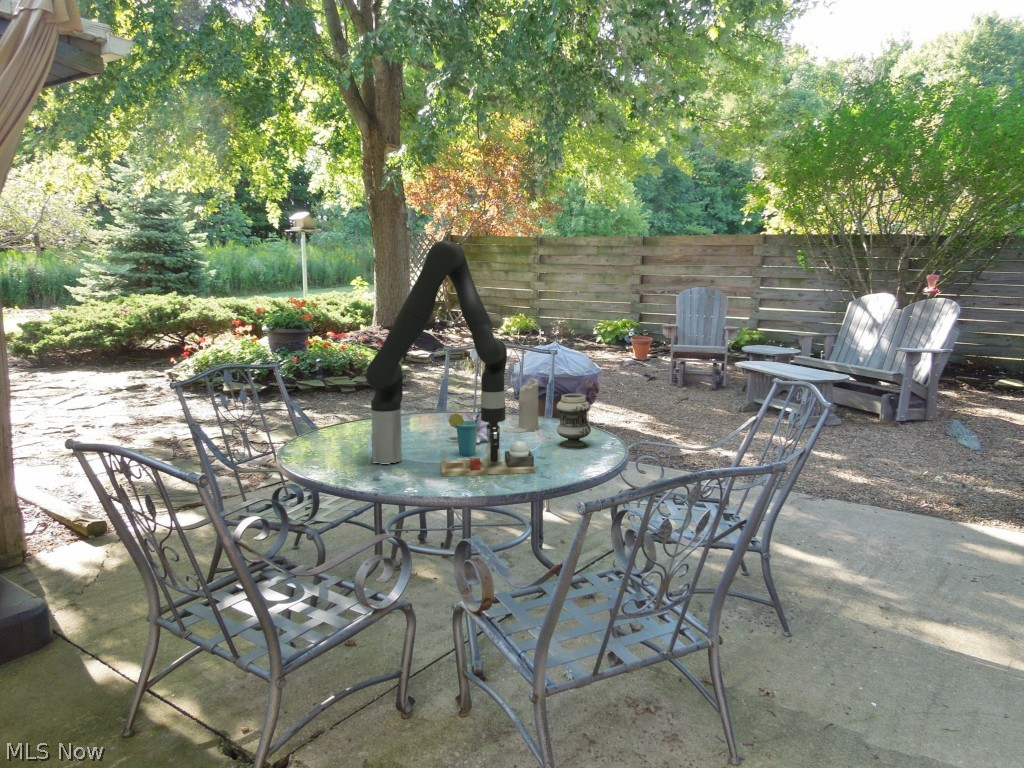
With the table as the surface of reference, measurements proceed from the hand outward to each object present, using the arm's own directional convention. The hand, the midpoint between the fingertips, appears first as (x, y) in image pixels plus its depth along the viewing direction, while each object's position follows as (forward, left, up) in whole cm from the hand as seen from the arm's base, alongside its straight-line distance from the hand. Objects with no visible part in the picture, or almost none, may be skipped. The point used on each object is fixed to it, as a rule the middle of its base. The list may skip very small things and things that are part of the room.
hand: (493, 459), depth 205 cm
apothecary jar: (+31, +26, -3) cm, 40 cm away
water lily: (-3, +35, -3) cm, 35 cm away
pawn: (0, 0, 0) cm, 0 cm away
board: (-2, 0, -3) cm, 4 cm away
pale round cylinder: (+8, 0, 0) cm, 8 cm away
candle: (+16, +52, -3) cm, 54 cm away
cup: (-6, +19, -3) cm, 20 cm away
